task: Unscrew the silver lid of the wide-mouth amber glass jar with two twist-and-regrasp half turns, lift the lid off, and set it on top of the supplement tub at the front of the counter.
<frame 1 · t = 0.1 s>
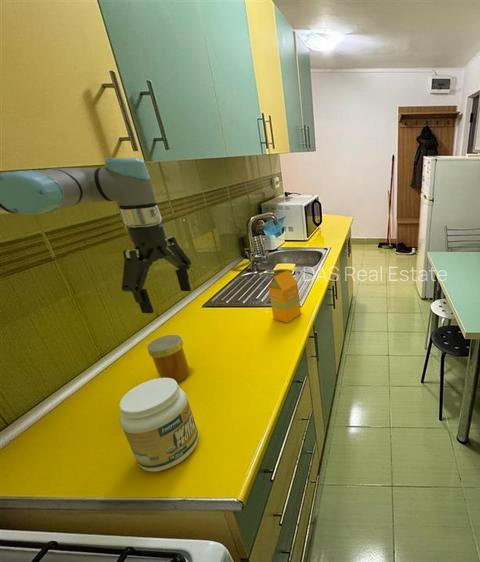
hand: (168, 300, 84), 27 cm above the counter, tool pointing down, fingers open, 13 cm apart
orange juice: (287, 316, 130), on the counter
jar: (175, 376, 95), on the counter
lid: (165, 343, 90), point 12 cm above the counter, screwed on, not yet turned
supplement tub: (171, 450, 71), on the counter
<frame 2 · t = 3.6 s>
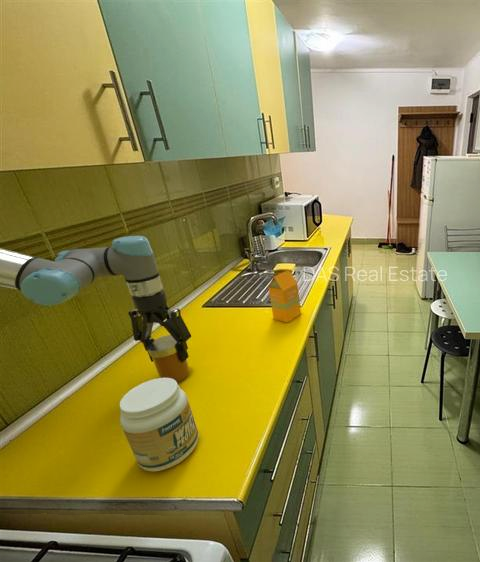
hand: (170, 359, 93), 6 cm above the counter, tool pointing down, fingers closed on lid, 9 cm apart
lid: (165, 343, 90), point 12 cm above the counter, screwed on, not yet turned, touching gripper
everything else where it was.
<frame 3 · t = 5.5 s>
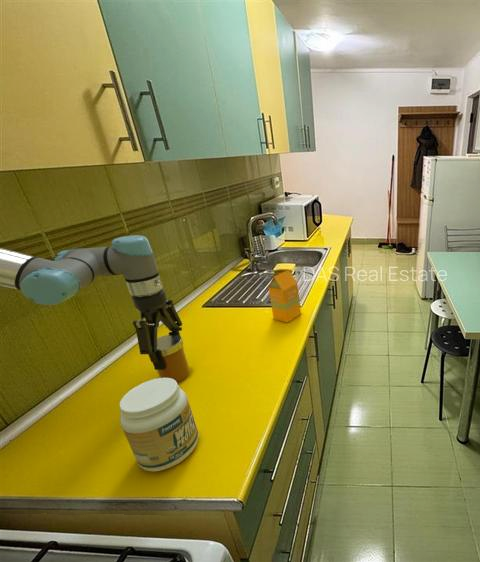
hand: (170, 358, 93), 7 cm above the counter, tool pointing down, fingers closed on lid, 9 cm apart
lid: (165, 343, 90), point 12 cm above the counter, turned 95° so far, risen 0.1 cm, still on its thread, touching gripper
everything else where it was.
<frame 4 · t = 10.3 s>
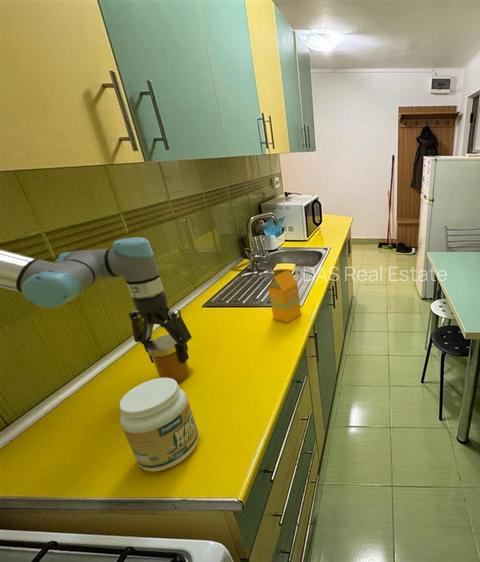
hand: (170, 360, 93), 6 cm above the counter, tool pointing down, fingers closed on lid, 9 cm apart
lid: (164, 342, 90), point 12 cm above the counter, turned 180° so far, risen 0.2 cm, still on its thread, touching gripper
everything else where it was.
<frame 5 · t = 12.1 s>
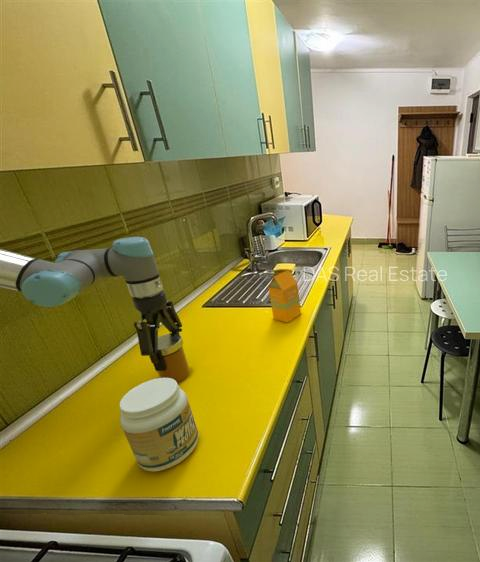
hand: (170, 359, 93), 6 cm above the counter, tool pointing down, fingers closed on lid, 9 cm apart
lid: (164, 342, 90), point 12 cm above the counter, turned 275° so far, risen 0.4 cm, still on its thread, touching gripper
everything else where it was.
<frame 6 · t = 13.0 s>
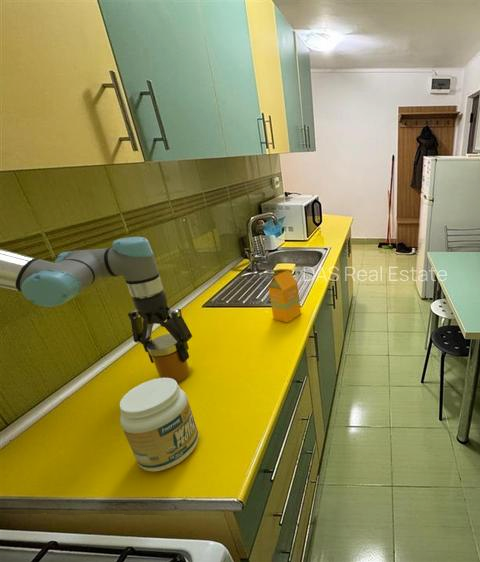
hand: (170, 359, 93), 6 cm above the counter, tool pointing down, fingers closed on lid, 9 cm apart
lid: (164, 342, 90), point 13 cm above the counter, off its thread, touching gripper
everything else where it was.
when the fingers open (18 cm above the counter, at t = 20.2 s): lid drops 6 cm, resting on supplement tub.
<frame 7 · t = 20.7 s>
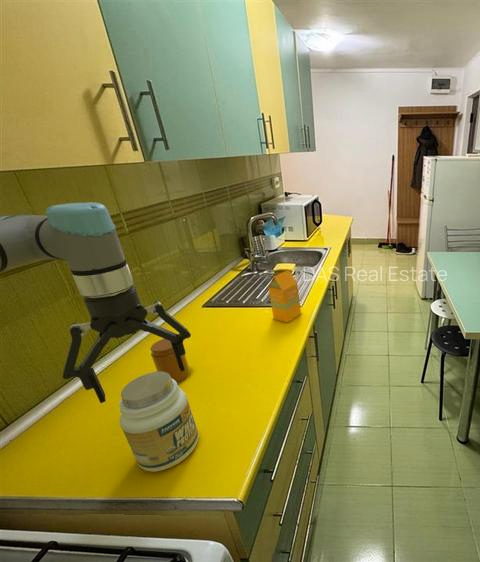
hand: (144, 382, 64), 20 cm above the counter, tool pointing down, fingers open, 13 cm apart
lid: (147, 386, 64), point 19 cm above the counter, off its thread, touching supplement tub
supplement tub: (170, 450, 71), on the counter, touching lid
everything else where it was.
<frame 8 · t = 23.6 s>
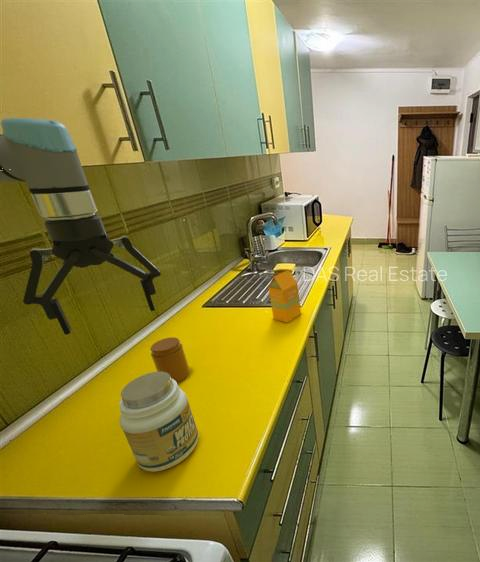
hand: (112, 319, 63), 33 cm above the counter, tool pointing down, fingers open, 13 cm apart
nothing on the counter moved.
at the end: lid came off its thread; lid inside the target area on the supplement tub (0.1 cm from its centre), point 19.0 cm above the supplement tub's base; the gripper is holding nothing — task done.
